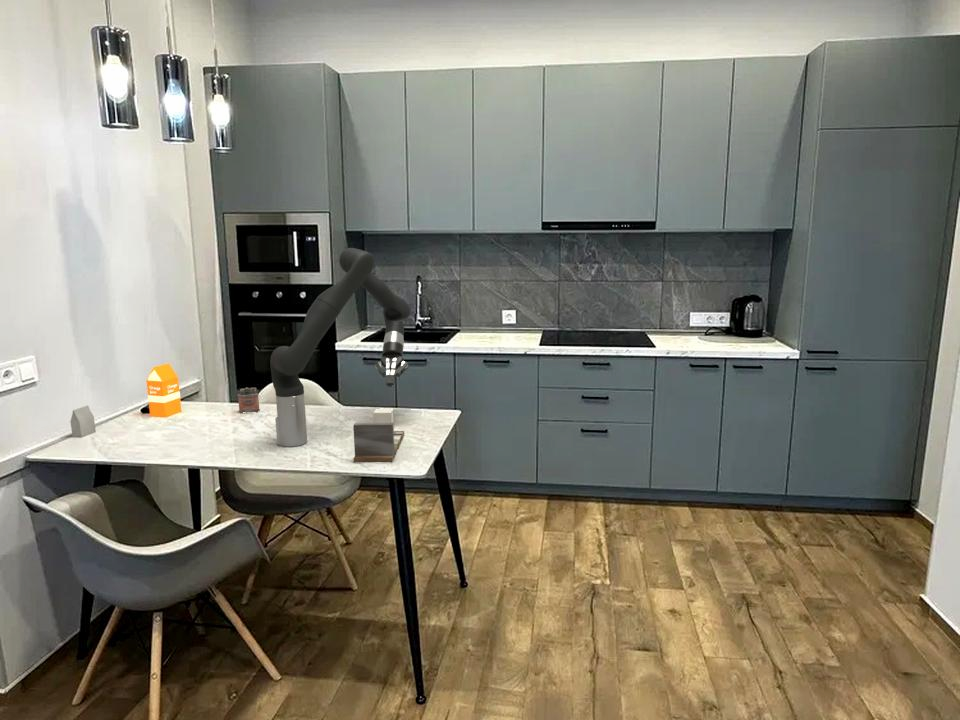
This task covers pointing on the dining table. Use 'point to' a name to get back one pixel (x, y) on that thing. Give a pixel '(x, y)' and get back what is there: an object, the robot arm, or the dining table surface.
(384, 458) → the base
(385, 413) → the block
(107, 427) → the dining table surface
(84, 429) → the grey house block
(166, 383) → the orange juice
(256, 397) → the red container
